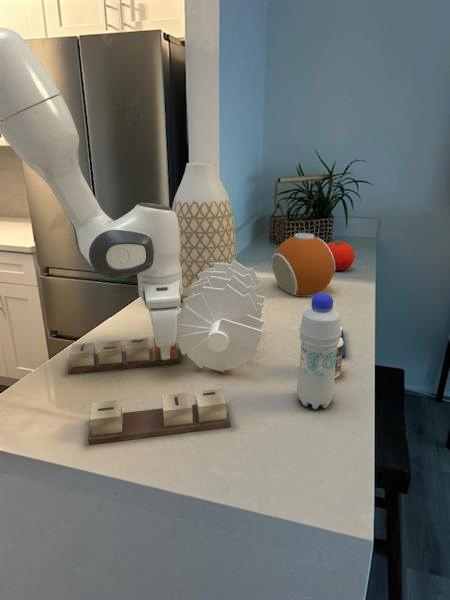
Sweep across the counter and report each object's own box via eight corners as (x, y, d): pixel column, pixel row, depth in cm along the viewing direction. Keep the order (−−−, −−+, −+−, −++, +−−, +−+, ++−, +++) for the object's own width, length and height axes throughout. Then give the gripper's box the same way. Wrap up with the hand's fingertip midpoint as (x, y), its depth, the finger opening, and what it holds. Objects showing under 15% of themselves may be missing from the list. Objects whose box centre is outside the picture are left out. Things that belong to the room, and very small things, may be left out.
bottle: (295, 389, 79) (301, 287, 73) (332, 392, 78) (342, 289, 72) (295, 410, 73) (301, 300, 66) (335, 414, 72) (346, 303, 65)
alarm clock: (343, 295, 129) (349, 238, 123) (293, 303, 122) (296, 243, 116) (308, 277, 145) (311, 226, 139) (262, 284, 139) (263, 230, 133)
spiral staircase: (196, 394, 85) (210, 335, 108) (278, 364, 81) (275, 310, 104) (151, 318, 80) (176, 273, 103) (237, 281, 75) (243, 243, 98)
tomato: (328, 263, 163) (331, 236, 159) (359, 269, 154) (362, 241, 151) (311, 268, 156) (313, 240, 152) (341, 276, 147) (344, 246, 144)
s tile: (155, 359, 89) (154, 345, 88) (154, 349, 93) (153, 336, 92) (176, 357, 90) (176, 343, 89) (175, 347, 94) (174, 334, 93)
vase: (162, 307, 120) (154, 164, 107) (184, 286, 137) (179, 161, 124) (227, 312, 116) (226, 165, 103) (241, 291, 133) (242, 161, 120)
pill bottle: (326, 383, 81) (330, 335, 78) (304, 371, 86) (307, 325, 82) (346, 374, 85) (351, 328, 81) (324, 363, 89) (327, 319, 86)
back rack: (68, 374, 85) (65, 355, 84) (72, 360, 91) (70, 342, 89) (179, 363, 89) (178, 345, 88) (176, 350, 95) (175, 333, 93)
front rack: (88, 445, 65) (85, 422, 64) (92, 421, 71) (89, 400, 69) (230, 426, 69) (230, 405, 68) (223, 405, 75) (223, 385, 73)
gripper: (143, 272, 95) (147, 329, 100) (145, 303, 76) (150, 372, 81) (171, 270, 96) (174, 327, 101) (181, 301, 77) (184, 369, 82)
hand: (163, 347), depth 91 cm, fingers open, 8 cm apart
